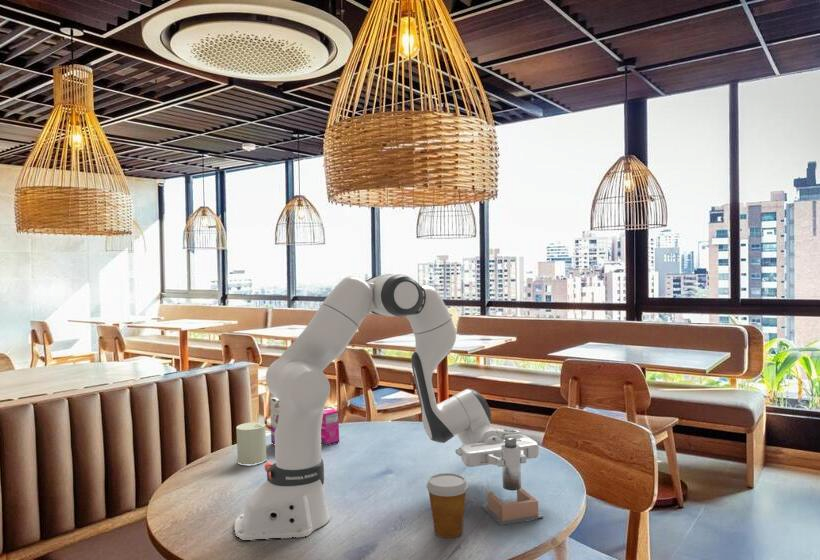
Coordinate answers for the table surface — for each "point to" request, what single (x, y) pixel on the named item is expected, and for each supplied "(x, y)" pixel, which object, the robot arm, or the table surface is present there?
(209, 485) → the table surface
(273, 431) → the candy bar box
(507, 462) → the silver water flask
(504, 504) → the dock
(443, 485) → the disposable coffee cup
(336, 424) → the supplement box
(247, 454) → the can
